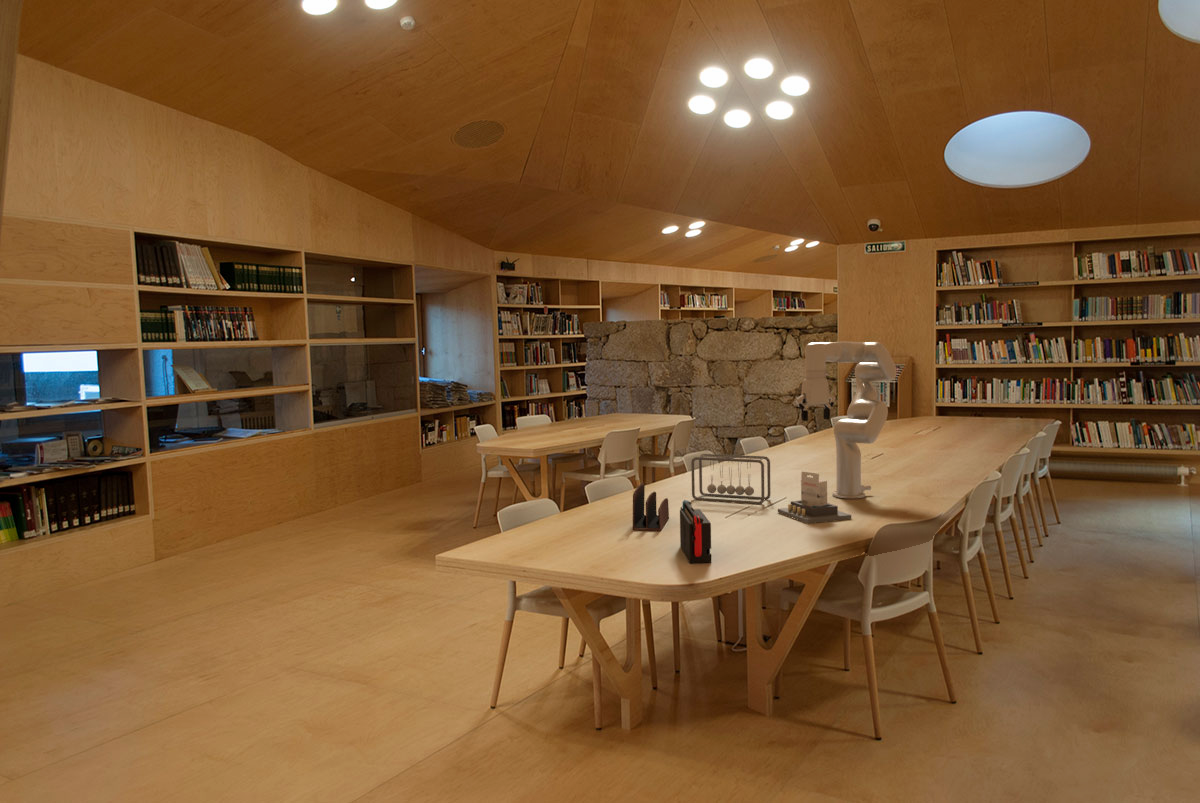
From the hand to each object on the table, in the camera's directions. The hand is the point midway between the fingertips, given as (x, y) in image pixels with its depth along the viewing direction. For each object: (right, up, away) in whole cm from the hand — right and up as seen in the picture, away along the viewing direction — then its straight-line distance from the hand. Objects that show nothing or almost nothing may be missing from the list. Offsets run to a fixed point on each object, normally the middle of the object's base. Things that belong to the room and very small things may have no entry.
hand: (815, 419), depth 312 cm
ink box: (-5, -33, -15) cm, 37 cm away
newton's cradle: (-30, -33, +18) cm, 48 cm away
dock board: (-5, -35, -15) cm, 38 cm away
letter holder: (-65, -37, -22) cm, 78 cm away
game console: (-54, -40, -63) cm, 92 cm away
